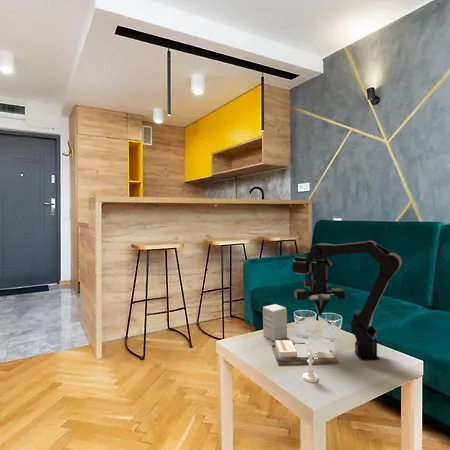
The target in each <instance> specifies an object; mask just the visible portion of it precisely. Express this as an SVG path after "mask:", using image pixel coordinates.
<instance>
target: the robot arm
mask: <svg viewBox="0 0 450 450" xmlns="http://www.w3.org/2000/svg"><path fill="white" fill-rule="evenodd" d="M362 253H367V254H368V255H370V256H371V258H373V259H374V260H375V261H376V262H378V264H379V268H378V274H377V277H376V279H375V281H374V283H373V286H372V288H371V289H370V293H369V295H368V296H367V298H366V301H365V303H364V304H363V305H364V306H363V307H362V309H361V310H360V309H357V310H356V311H355V313H353V316H352V319H351V321H349V324H350V331H351V333H352V334H353V335H354V337H355V340H356V341H355V342H354V353H355V355H356V356H357V357H358V358H359V359H360V360H361V361H363V360H364V361H367V360H370V361H371V360H373V361H374V360H379V359H380V357H379V356H378V340H377V339H376V337H377V334H378V331H377V330H376V328H374V326H373V325H372V323H373V319H374V313H375V311H376V309H377V307H378V305H379V303H380V300H381V299H382V296H383V295H384V292H385V291H386V288H387V287H388V284H389V282H390V280H391V279H392V277H393V276H394V275H395V274H396V272H398V270H399V269H400V267H401V266H402V263H403V260H402V257H401V256H400V255H399V254H398V253H396V252H391V251H389V250H388V249H386V248H385V247H383V246H381V245H380V244H378V243H377V242H376V241H374V240H367V241H359V242H347V243H340V244H339V243H338V244H334V243H326V242H321V243H320V242H319V243H316V244H313V245H312V246H310V249H309V253H308V255H307V256H306V257H301V256H295V257H294V259H293V261H292V265H291V271H292V274H297V275H308V276H309V274H310V273H311V277H310V278H304V279H303V287H304V288H295V290H293V294H294V297H295V299H296V300H306V299H308V298H309V300H310V301H311V302H313V305H314V307H315V309H316V313H317V315H318V316H320V317H321V316H322V314H323V312H324V310H325V308H326V306H327V304H328V303H329V302H331V301H332V300H331V297H332V296H334V297H336V298H337V299H341V300H343V299H346V298H347V294H346V292H345V290H343V289H342V288H341V287H334V288H333V287H331V288H330V290H328V283H329V280H328V267H329V266H332V265H333V264H334V263H333V262H332V261H331V260H330V259H329V257H333V256H338V255H349V254H350V255H351V254H362ZM325 258H326V259H325ZM322 259H323V260H322ZM324 259H325V260H324ZM315 260H316V261H315ZM305 288H308V291H307V290H306V289H305Z"/></svg>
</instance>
